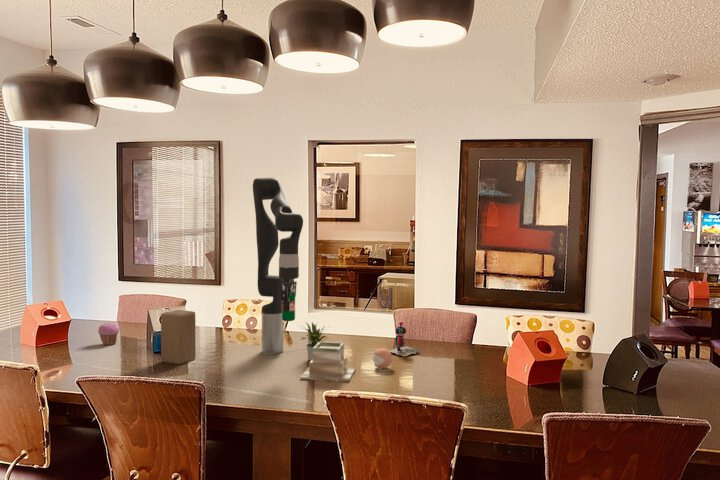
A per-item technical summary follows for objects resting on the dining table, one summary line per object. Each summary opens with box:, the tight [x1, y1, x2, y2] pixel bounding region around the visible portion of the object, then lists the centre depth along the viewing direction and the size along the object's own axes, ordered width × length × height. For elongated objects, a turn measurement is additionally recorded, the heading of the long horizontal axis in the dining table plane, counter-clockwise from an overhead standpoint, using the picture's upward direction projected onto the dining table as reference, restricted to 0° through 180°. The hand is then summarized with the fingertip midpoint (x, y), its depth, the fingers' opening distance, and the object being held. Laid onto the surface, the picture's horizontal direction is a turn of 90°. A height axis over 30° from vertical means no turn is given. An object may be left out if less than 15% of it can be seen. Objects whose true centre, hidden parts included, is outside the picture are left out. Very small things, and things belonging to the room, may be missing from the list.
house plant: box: [296, 321, 331, 361], centre depth 230 cm, size 14×14×16 cm
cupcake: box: [97, 322, 120, 346], centre depth 254 cm, size 9×9×10 cm
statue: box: [389, 320, 421, 356], centre depth 241 cm, size 11×9×15 cm
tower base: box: [300, 341, 356, 382], centre depth 209 cm, size 15×18×11 cm
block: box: [160, 309, 197, 365], centre depth 227 cm, size 10×10×20 cm
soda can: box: [282, 289, 296, 322], centre depth 213 cm, size 5×5×12 cm
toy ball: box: [372, 347, 393, 369], centre depth 218 cm, size 8×8×8 cm
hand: (288, 309), depth 213 cm, fingers closed on soda can, 5 cm apart
